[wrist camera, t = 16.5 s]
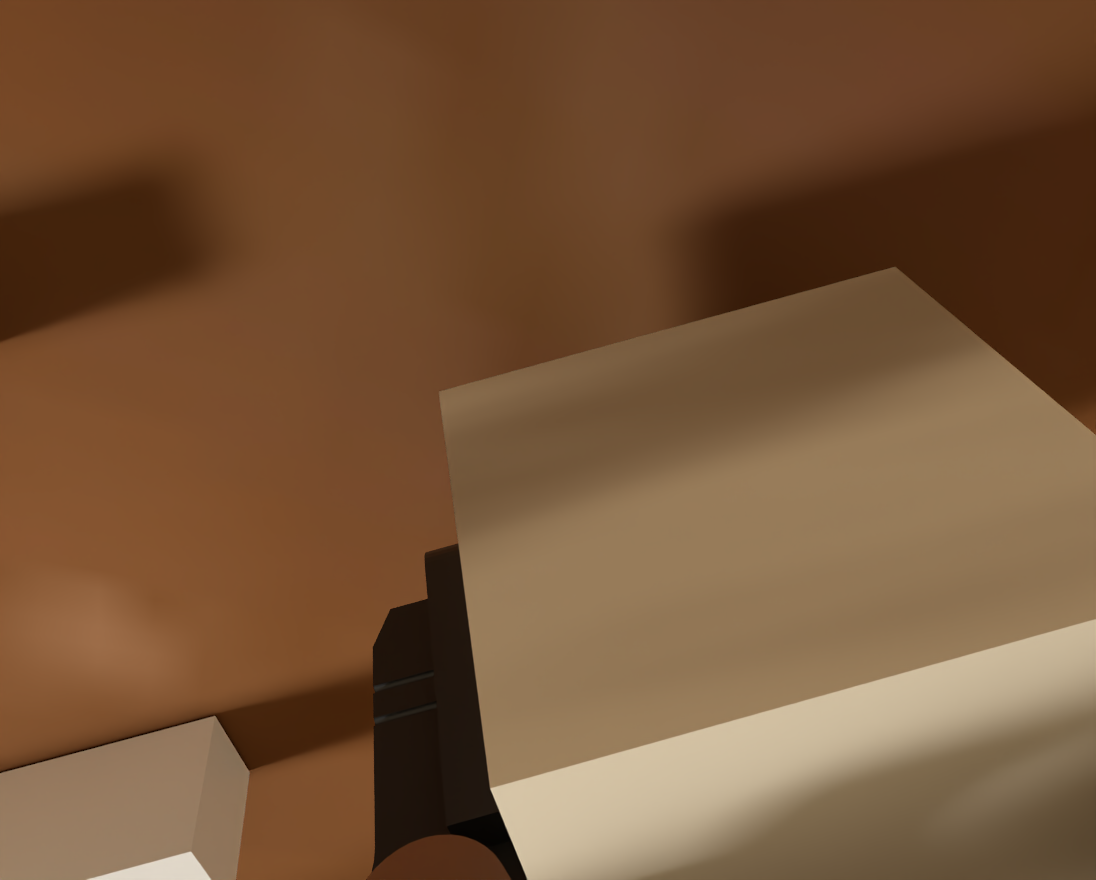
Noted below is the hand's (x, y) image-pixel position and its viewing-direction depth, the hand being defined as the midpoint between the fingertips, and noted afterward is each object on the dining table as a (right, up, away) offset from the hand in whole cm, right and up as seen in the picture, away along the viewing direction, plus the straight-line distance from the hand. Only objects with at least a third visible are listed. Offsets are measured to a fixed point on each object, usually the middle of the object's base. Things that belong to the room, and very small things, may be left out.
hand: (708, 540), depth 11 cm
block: (0, 0, 0) cm, 0 cm away
